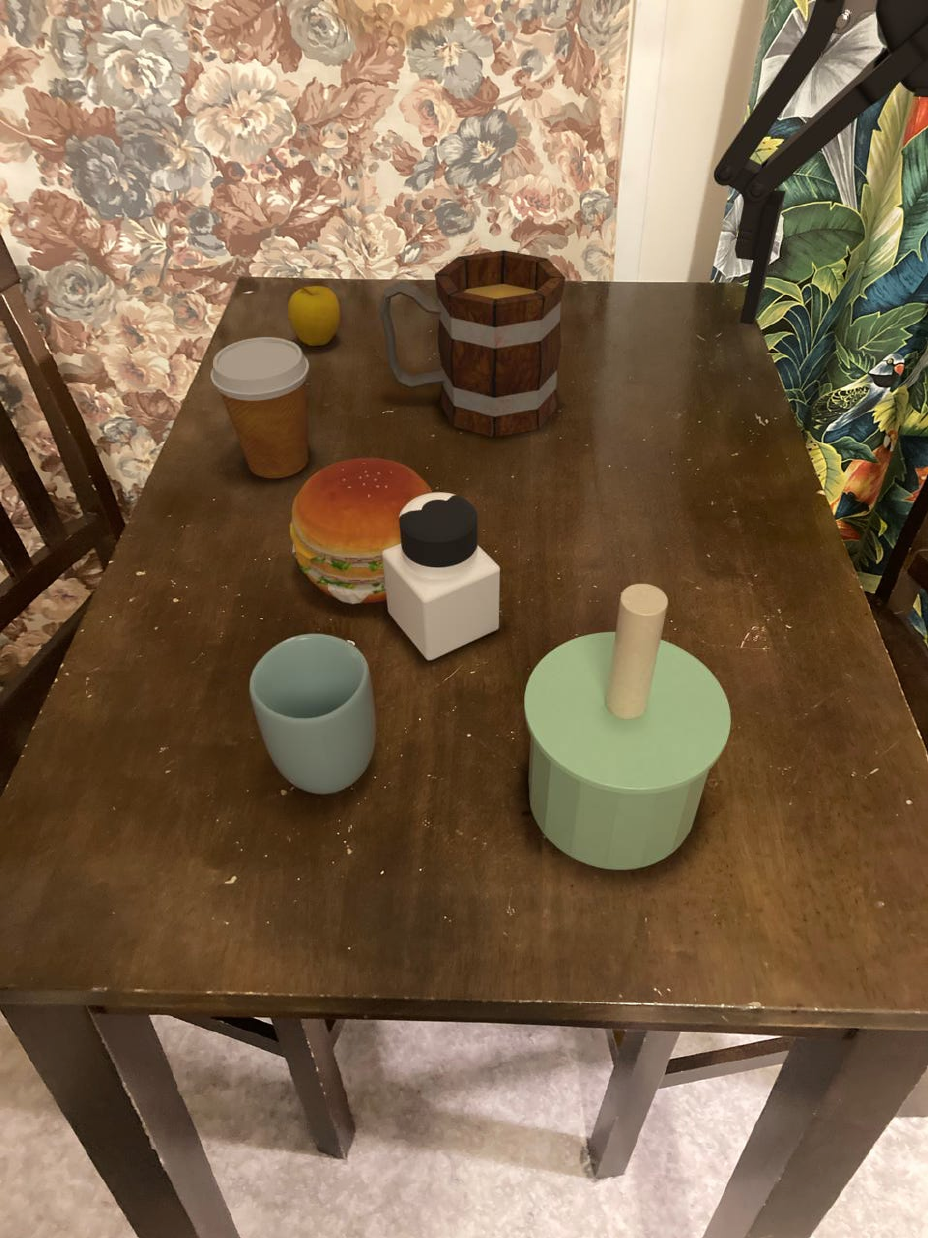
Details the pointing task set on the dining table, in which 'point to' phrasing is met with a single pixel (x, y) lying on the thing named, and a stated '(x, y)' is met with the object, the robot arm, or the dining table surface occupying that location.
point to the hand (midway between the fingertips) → (870, 332)
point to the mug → (490, 340)
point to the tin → (609, 817)
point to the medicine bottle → (441, 576)
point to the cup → (315, 711)
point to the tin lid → (628, 705)
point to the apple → (314, 314)
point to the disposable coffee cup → (266, 402)
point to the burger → (351, 525)
